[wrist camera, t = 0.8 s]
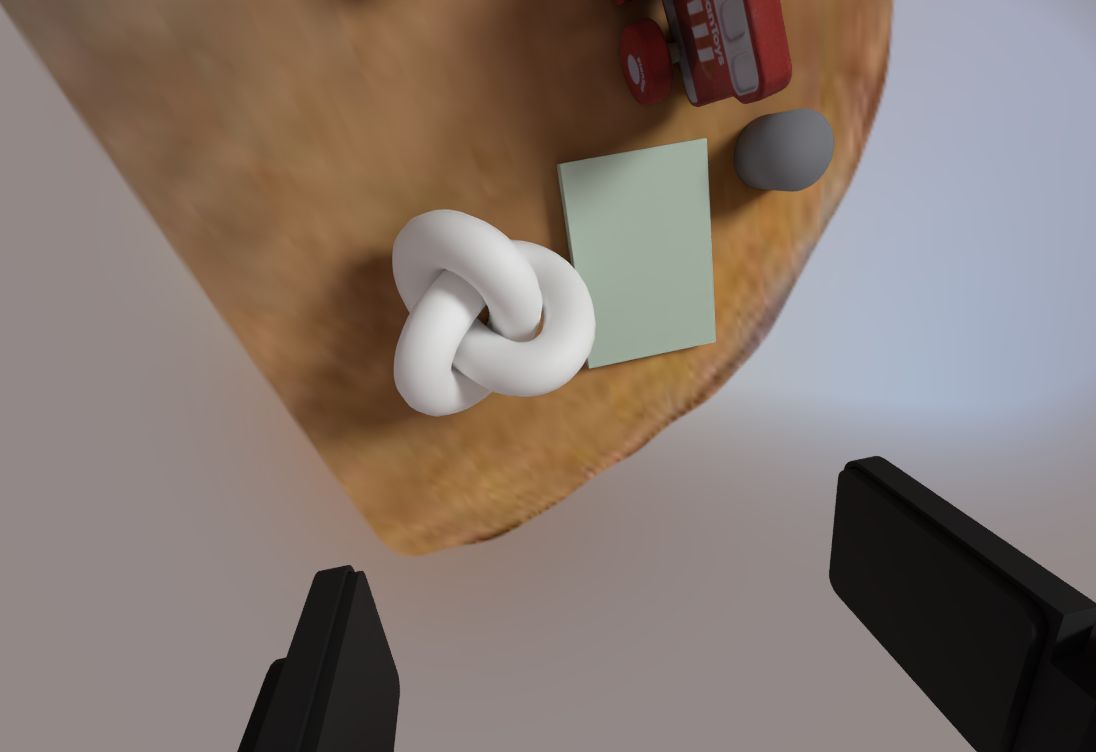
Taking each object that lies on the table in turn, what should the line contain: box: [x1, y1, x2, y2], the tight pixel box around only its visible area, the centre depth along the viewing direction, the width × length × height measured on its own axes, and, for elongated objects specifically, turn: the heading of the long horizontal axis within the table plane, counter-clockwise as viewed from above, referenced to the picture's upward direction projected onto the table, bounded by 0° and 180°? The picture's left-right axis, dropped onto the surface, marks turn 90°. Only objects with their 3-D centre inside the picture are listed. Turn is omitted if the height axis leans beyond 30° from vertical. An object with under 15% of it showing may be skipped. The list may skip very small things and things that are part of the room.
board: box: [557, 138, 716, 369], centre depth 35 cm, size 13×9×1 cm
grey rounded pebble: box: [734, 109, 834, 191], centre depth 33 cm, size 4×4×4 cm
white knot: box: [392, 209, 596, 416], centre depth 30 cm, size 11×12×9 cm
